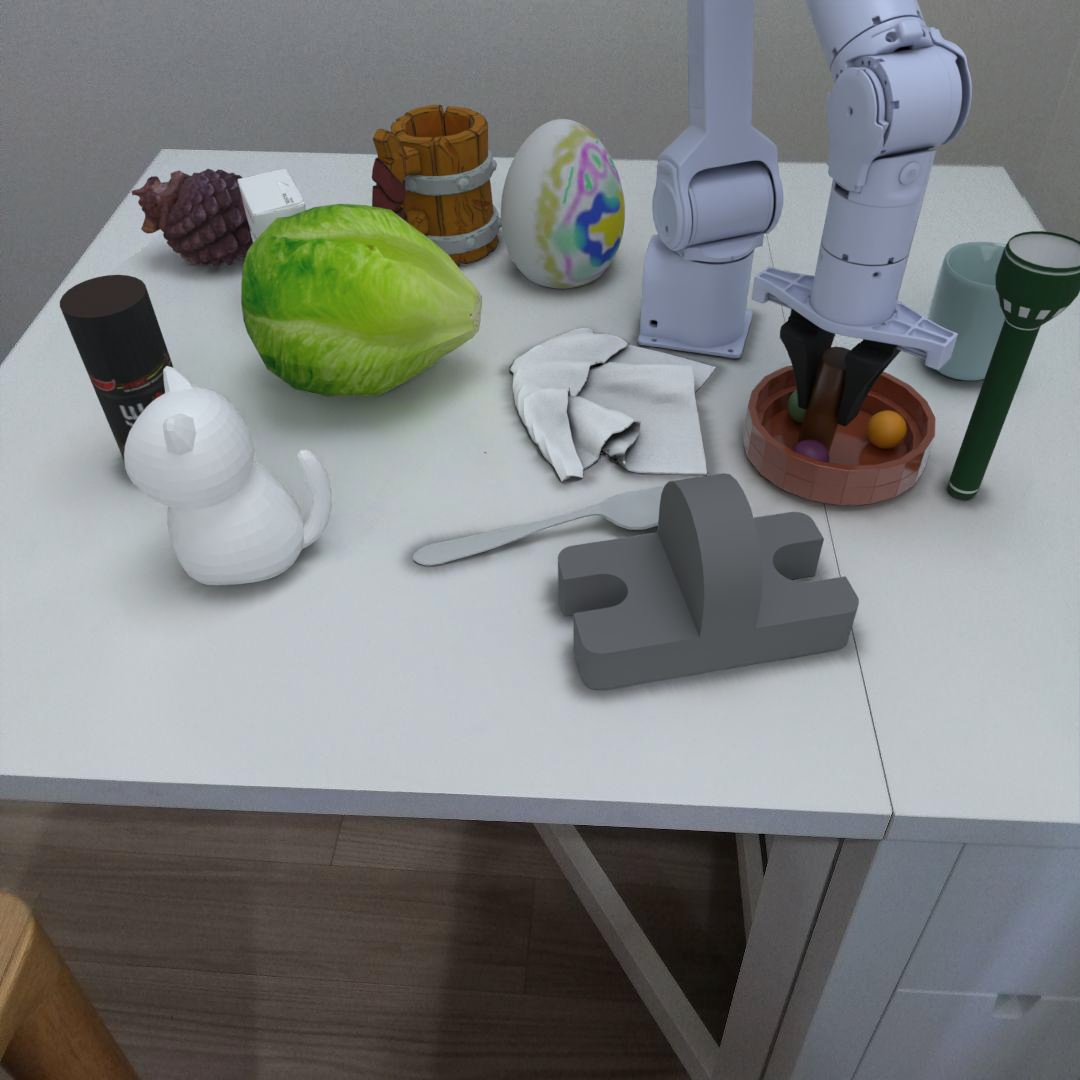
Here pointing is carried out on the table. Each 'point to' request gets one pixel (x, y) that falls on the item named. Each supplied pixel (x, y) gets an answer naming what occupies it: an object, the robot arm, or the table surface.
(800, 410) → the sage bead
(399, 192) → the mug
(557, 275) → the decorative egg
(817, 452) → the plum bead
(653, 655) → the bracket
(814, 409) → the stick
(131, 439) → the cat figurine
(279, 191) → the ink box
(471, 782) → the table surface
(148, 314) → the deodorant
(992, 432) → the flashlight
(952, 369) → the cup
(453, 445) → the table surface
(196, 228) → the pine cone
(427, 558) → the spoon
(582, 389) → the cloth
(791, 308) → the robot arm
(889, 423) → the amber bead
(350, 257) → the lettuce
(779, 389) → the bowl
